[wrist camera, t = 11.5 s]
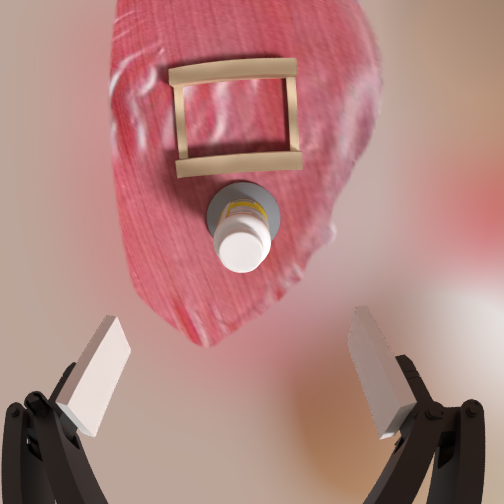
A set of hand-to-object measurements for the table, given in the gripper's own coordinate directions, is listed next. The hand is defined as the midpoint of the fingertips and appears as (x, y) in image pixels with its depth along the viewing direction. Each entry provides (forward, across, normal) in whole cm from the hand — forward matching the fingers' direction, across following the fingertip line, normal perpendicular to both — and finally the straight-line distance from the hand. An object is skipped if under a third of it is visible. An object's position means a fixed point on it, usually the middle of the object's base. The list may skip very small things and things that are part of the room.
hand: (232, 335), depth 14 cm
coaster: (+22, 0, 0) cm, 22 cm away
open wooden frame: (+22, 0, +12) cm, 25 cm away
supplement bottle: (+21, 0, 0) cm, 21 cm away
